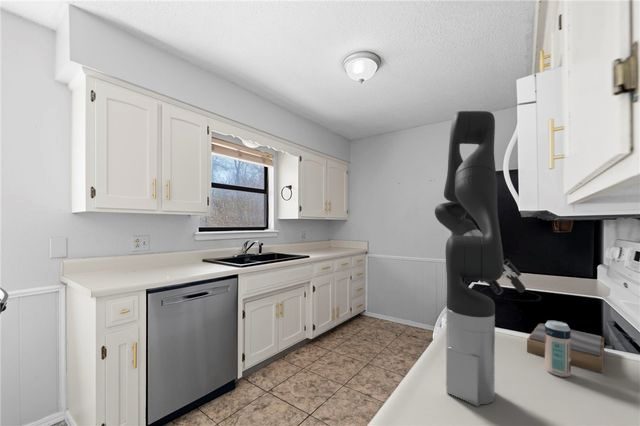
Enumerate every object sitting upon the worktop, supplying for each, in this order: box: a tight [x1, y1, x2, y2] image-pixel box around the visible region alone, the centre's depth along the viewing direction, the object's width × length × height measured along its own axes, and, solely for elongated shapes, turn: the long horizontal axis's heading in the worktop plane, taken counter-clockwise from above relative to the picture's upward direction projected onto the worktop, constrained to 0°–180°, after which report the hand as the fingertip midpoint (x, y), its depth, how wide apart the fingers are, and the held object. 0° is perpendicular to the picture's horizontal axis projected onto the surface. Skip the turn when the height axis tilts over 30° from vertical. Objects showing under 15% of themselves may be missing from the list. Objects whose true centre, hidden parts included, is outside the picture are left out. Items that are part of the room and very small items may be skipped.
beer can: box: [544, 319, 572, 378], centre depth 69 cm, size 5×5×12 cm
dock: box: [526, 322, 605, 374], centre depth 81 cm, size 18×15×4 cm
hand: (511, 292), depth 80 cm, fingers open, 8 cm apart
